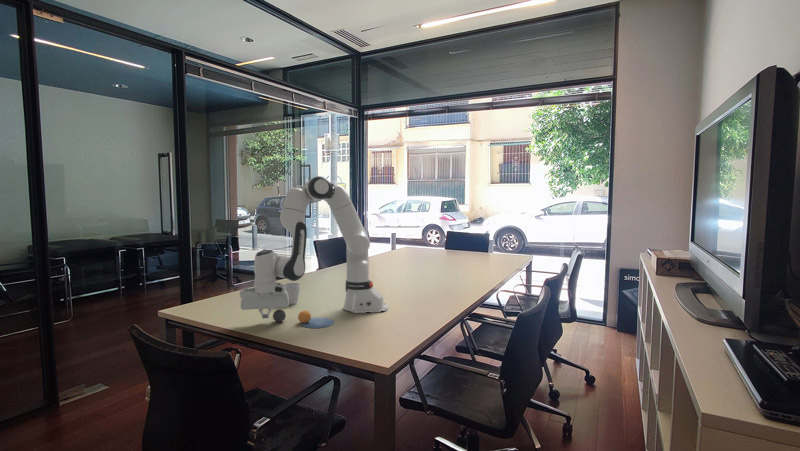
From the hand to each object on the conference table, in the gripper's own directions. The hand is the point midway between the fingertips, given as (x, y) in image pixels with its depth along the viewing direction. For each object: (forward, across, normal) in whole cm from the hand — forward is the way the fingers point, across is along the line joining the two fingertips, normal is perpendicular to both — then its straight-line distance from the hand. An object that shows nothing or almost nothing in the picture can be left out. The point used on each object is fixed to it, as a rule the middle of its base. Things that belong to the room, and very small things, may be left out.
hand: (265, 318), depth 174 cm
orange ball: (-1, +17, -4) cm, 17 cm away
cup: (+2, +10, +30) cm, 32 cm away
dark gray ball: (-1, +6, 0) cm, 6 cm away
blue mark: (+2, +22, -5) cm, 23 cm away
